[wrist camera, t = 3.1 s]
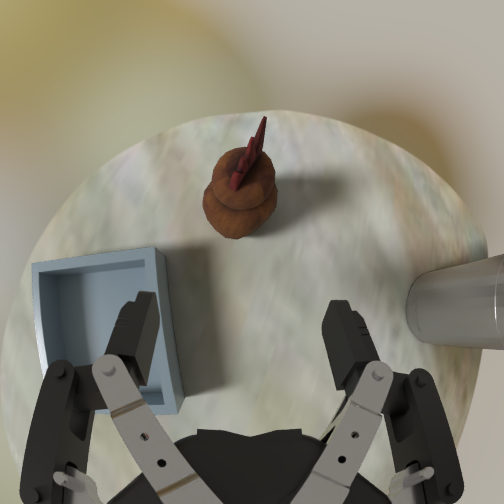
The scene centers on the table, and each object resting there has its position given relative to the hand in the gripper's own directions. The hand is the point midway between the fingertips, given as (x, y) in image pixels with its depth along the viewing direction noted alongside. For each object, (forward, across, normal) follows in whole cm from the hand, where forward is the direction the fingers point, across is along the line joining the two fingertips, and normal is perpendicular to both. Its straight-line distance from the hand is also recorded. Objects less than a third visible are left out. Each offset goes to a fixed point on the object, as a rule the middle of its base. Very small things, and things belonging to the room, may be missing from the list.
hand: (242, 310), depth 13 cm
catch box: (+9, +13, +14) cm, 21 cm away
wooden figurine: (+18, 0, +5) cm, 19 cm away
